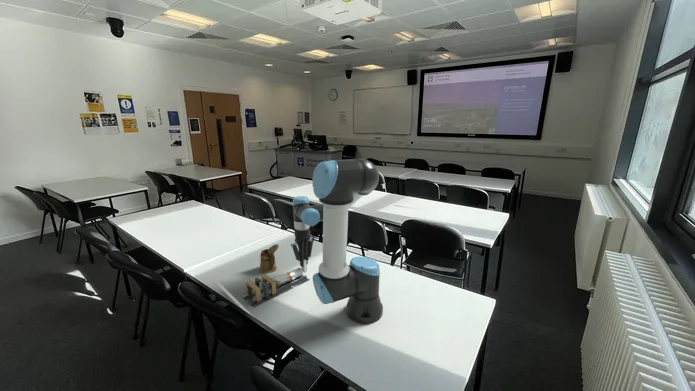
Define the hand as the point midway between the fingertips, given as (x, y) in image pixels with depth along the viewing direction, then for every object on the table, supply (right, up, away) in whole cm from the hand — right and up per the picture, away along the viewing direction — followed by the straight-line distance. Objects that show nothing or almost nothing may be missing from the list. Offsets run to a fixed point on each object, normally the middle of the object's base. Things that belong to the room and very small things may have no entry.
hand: (304, 271), depth 143 cm
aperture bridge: (-17, -7, -15) cm, 24 cm away
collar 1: (-19, -8, -18) cm, 28 cm away
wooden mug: (-18, -2, +5) cm, 19 cm away
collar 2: (-14, -7, -13) cm, 20 cm away
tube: (-6, -3, -6) cm, 9 cm away
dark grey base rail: (-11, -6, -10) cm, 16 cm away
